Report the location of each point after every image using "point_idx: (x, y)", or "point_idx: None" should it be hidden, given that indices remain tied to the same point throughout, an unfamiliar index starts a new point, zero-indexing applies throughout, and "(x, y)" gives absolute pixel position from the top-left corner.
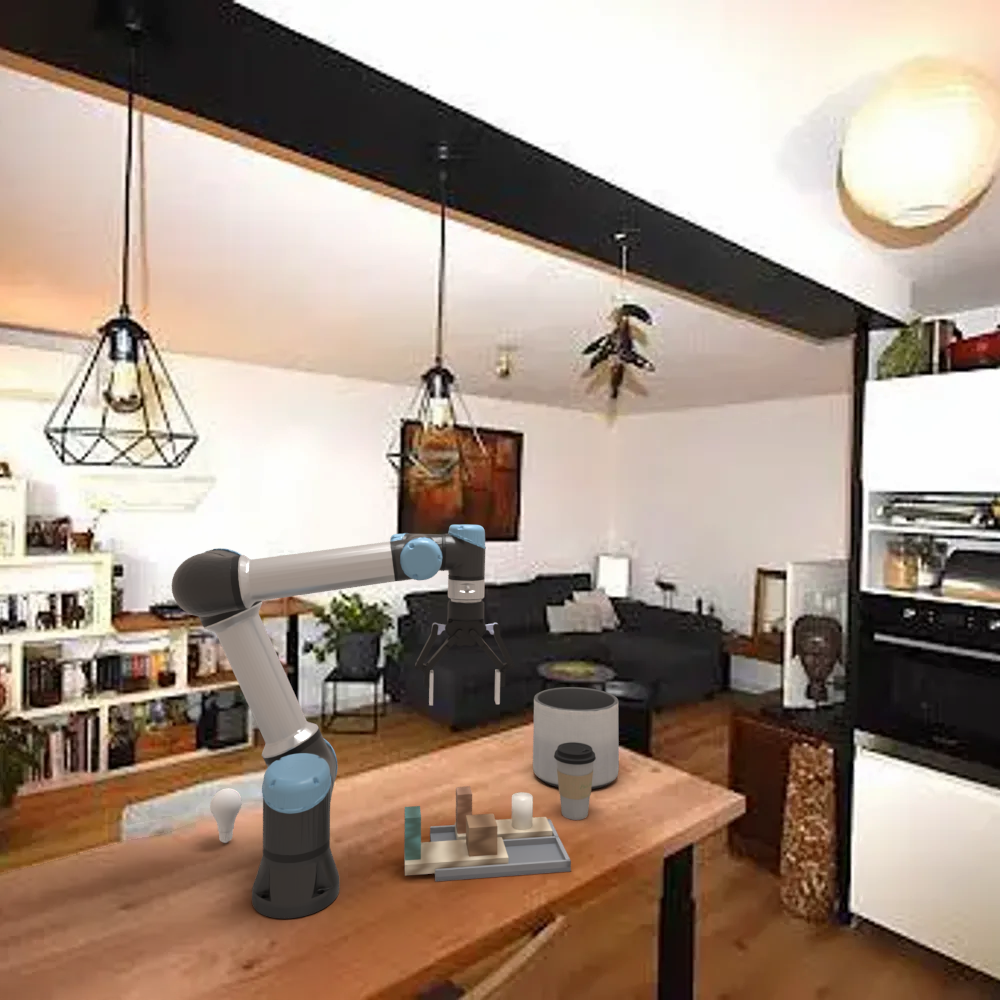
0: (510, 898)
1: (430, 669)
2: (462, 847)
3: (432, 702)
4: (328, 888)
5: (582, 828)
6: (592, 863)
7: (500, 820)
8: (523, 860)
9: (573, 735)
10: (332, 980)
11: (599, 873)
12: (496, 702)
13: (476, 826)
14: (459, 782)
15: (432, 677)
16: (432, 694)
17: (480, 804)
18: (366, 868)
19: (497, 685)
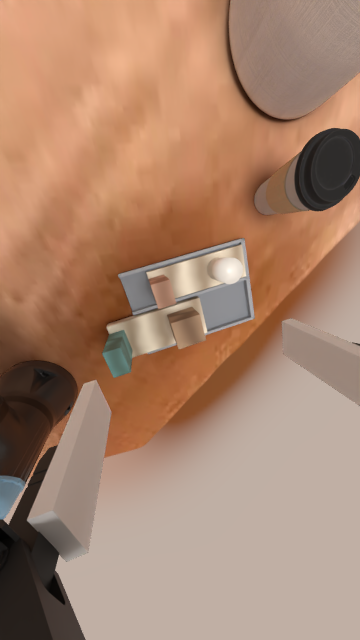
0: (206, 358)
1: (60, 594)
2: (165, 323)
3: (108, 418)
4: (71, 402)
5: (269, 235)
6: (267, 300)
7: (195, 260)
8: (215, 313)
9: (353, 45)
10: (117, 447)
11: (269, 314)
12: (287, 355)
13: (185, 345)
14: (109, 78)
15: (88, 524)
16: (104, 443)
17: (158, 176)
18: (80, 343)
19: (335, 385)
